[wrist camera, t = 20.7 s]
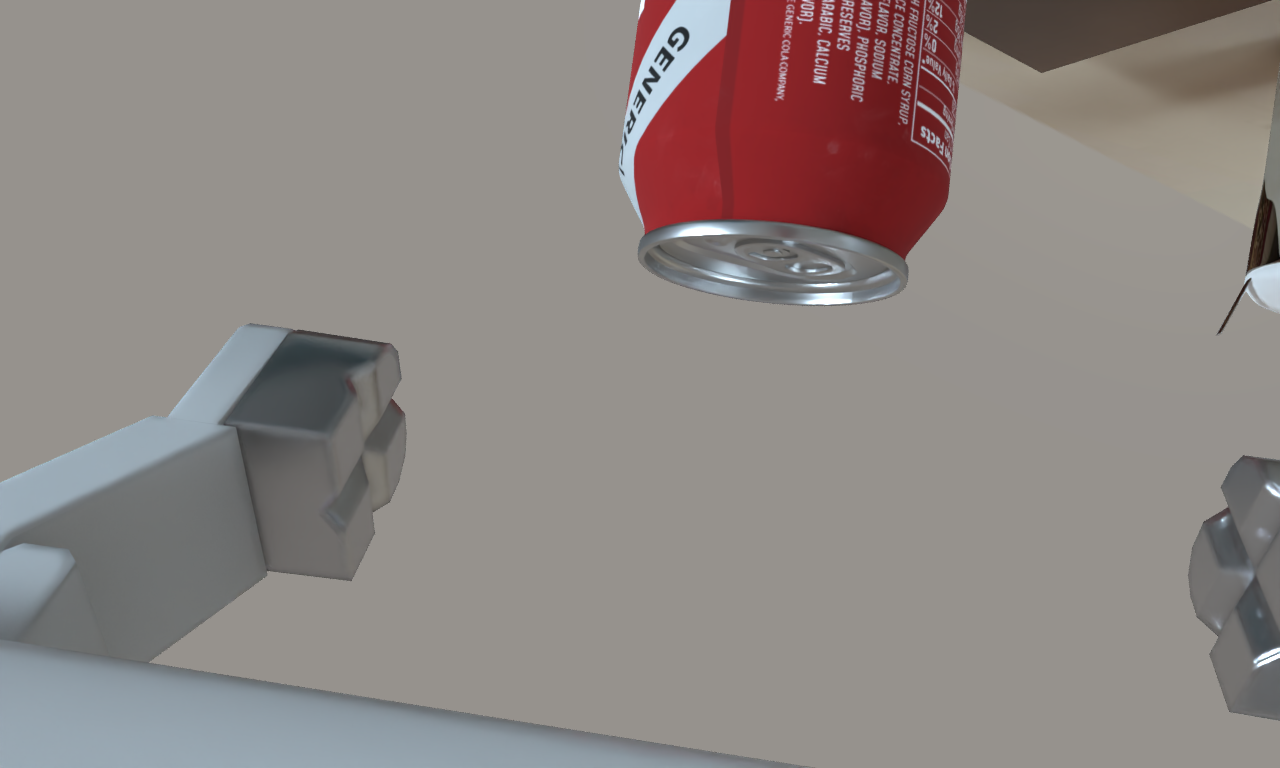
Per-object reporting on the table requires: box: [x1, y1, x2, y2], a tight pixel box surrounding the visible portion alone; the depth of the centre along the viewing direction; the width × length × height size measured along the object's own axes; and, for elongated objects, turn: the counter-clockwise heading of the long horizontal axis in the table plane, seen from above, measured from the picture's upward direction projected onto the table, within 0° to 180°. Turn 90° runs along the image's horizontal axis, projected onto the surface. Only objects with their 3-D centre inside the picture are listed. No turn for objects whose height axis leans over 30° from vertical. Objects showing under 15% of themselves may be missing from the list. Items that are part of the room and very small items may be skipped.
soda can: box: [619, 0, 967, 306], centre depth 24 cm, size 7×7×12 cm
